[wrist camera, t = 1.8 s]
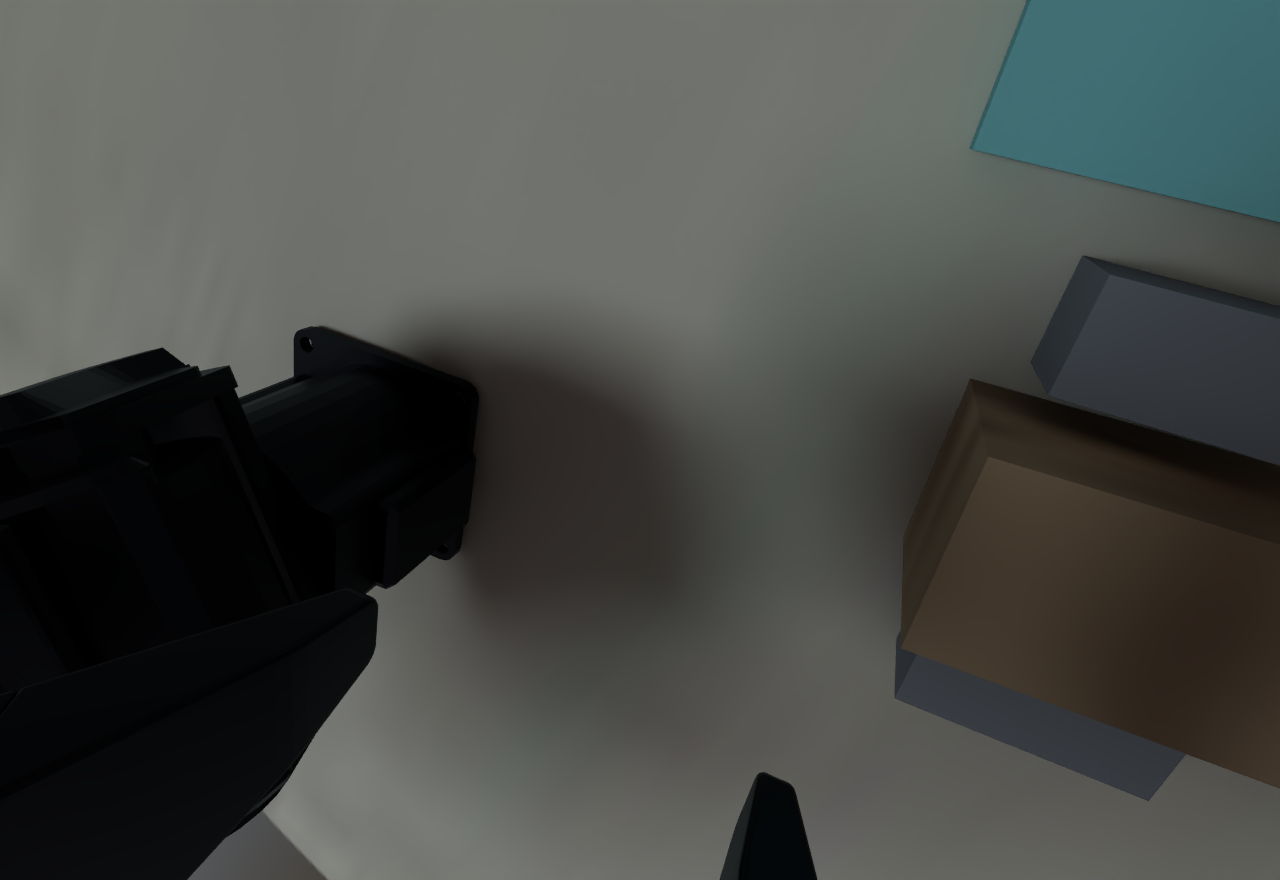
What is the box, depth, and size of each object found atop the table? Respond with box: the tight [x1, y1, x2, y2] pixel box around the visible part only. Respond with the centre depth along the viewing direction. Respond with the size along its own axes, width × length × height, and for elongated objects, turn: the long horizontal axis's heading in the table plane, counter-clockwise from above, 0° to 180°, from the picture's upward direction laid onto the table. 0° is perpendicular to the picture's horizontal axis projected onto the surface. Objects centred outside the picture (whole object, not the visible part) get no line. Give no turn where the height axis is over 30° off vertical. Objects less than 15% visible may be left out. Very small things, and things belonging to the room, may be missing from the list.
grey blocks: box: [895, 256, 1280, 801], centre depth 16 cm, size 6×11×2 cm, turn 167°
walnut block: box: [901, 379, 1280, 788], centre depth 15 cm, size 8×5×5 cm, turn 79°
